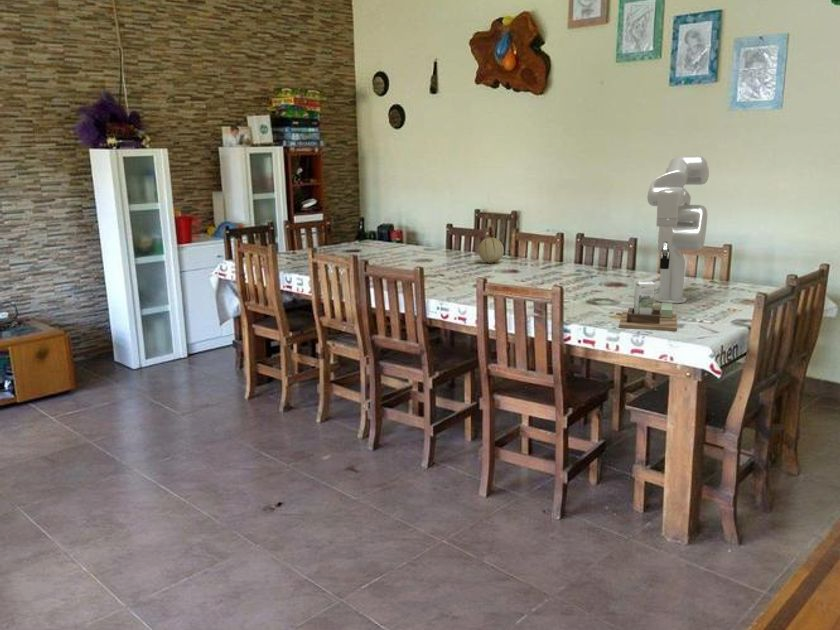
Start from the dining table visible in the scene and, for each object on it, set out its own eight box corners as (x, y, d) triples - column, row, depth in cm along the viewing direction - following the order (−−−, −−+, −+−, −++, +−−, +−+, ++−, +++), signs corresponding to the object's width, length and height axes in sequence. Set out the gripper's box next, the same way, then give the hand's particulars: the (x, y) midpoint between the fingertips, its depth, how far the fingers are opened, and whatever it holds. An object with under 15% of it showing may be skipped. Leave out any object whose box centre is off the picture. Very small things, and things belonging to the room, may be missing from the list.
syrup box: (648, 317, 277) (650, 280, 273) (652, 321, 271) (654, 283, 267) (633, 317, 277) (634, 280, 273) (637, 321, 271) (639, 283, 268)
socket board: (622, 314, 288) (623, 304, 287) (676, 317, 281) (676, 306, 280) (619, 327, 267) (619, 316, 266) (676, 331, 261) (677, 319, 260)
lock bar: (661, 309, 287) (661, 302, 287) (672, 310, 286) (672, 302, 286) (660, 317, 275) (661, 309, 275) (672, 317, 274) (672, 310, 274)
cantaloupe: (493, 265, 405) (493, 239, 402) (472, 263, 415) (472, 237, 412) (509, 262, 416) (509, 236, 412) (488, 260, 426) (488, 234, 422)
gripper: (657, 218, 286) (655, 261, 291) (655, 225, 271) (653, 270, 275) (677, 219, 284) (675, 262, 288) (677, 225, 268) (674, 271, 273)
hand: (664, 266), depth 282 cm, fingers open, 9 cm apart
